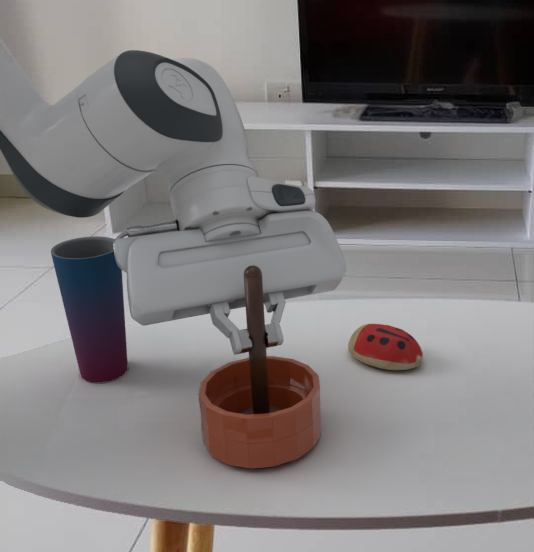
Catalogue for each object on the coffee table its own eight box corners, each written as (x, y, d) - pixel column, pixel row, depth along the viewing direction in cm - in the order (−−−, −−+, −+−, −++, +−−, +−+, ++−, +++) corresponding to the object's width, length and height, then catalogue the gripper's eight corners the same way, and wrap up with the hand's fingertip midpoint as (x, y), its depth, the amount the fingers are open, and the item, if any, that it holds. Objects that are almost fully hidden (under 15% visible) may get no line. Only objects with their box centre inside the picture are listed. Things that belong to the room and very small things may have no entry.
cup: (143, 376, 84) (128, 250, 78) (80, 393, 80) (58, 263, 74) (126, 351, 89) (110, 232, 83) (65, 366, 85) (44, 243, 80)
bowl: (199, 478, 68) (193, 421, 65) (209, 410, 78) (204, 359, 75) (323, 468, 69) (322, 413, 67) (317, 403, 79) (316, 353, 77)
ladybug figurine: (365, 337, 94) (366, 311, 92) (435, 357, 89) (437, 330, 88) (335, 359, 88) (334, 332, 87) (408, 382, 84) (408, 354, 82)
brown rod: (238, 446, 70) (225, 276, 63) (240, 420, 74) (228, 257, 67) (285, 443, 70) (277, 274, 64) (285, 417, 74) (277, 256, 68)
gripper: (109, 213, 65) (142, 361, 61) (327, 186, 74) (370, 314, 70) (108, 245, 70) (139, 383, 66) (312, 217, 79) (350, 337, 75)
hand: (259, 348), depth 68 cm, fingers closed on brown rod
